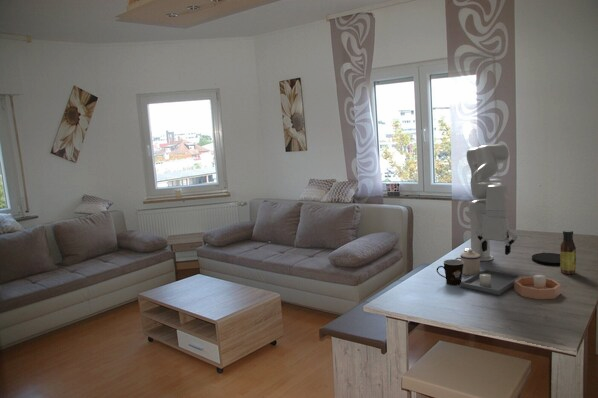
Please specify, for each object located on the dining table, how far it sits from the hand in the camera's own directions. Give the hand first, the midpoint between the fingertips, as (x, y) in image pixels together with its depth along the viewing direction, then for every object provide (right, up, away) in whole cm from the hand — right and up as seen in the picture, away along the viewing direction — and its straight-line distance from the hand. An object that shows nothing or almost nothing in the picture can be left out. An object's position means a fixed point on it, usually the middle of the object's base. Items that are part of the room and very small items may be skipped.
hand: (495, 252), depth 194 cm
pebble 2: (+17, -15, -3) cm, 23 cm away
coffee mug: (-15, -16, +13) cm, 25 cm away
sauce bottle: (+41, -12, +16) cm, 45 cm away
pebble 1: (-3, -15, +4) cm, 16 cm away
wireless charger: (+44, -9, +35) cm, 57 cm away
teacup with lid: (-3, -13, +25) cm, 29 cm away
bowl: (+15, -16, -5) cm, 23 cm away
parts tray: (+1, -15, +8) cm, 17 cm away
